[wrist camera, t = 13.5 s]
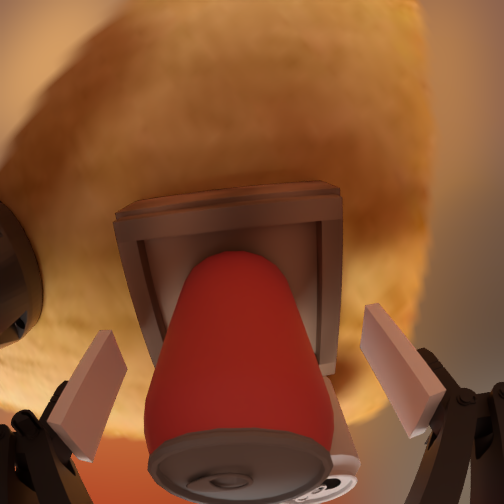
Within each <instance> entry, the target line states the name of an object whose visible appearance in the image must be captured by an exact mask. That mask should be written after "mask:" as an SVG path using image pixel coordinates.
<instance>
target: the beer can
mask: <svg viewBox="0 0 504 504" xmlns="http://www.w3.org/2000/svg"><path fill="white" fill-rule="evenodd" d="M333 433H334V412H333V408H332V404H331V400H330V396H329V393H328V390H327V387H326V385H325V382H324V379H323V376H322V373H321V371H320V368H319V365H318V362H317V360H316V357H315V354H314V351H313V349H312V346H311V343H310V340H309V338H308V335H307V332H306V329H305V327H304V324H303V321H302V319H301V316H300V313H299V311H298V308H297V305H296V303H295V300H294V297H293V295H292V292H291V289H290V287H289V284H288V281H287V279H286V277H285V276H284V275H283V274H282V272H281V271H280V270H279V268H278V267H277V266H276V265H275V264H273V263H272V262H270V261H269V260H267V259H266V258H264V257H263V256H260V255H257V254H253V253H249V252H246V251H225V252H222V253H219V254H216V255H213V256H210V257H207V258H206V259H205V260H203V261H202V262H201V263H199V264H198V265H197V266H195V267H194V268H193V269H192V271H191V272H190V274H189V275H188V277H187V278H186V280H185V281H184V284H183V287H182V290H181V292H180V295H179V298H178V301H177V304H176V307H175V310H174V313H173V315H172V318H171V321H170V324H169V327H168V330H167V333H166V336H165V339H164V342H163V346H162V349H161V352H160V355H159V358H158V361H157V364H156V368H155V371H154V374H153V377H152V381H151V384H150V387H149V391H148V394H147V397H146V402H145V411H144V434H145V439H146V443H147V447H148V451H149V454H150V456H149V461H148V472H149V473H150V475H151V476H152V478H153V479H154V481H155V482H156V483H157V484H158V485H159V486H161V487H162V488H164V489H165V490H166V491H168V492H169V493H171V494H173V495H176V496H178V497H180V498H182V499H185V500H187V501H191V502H194V503H199V504H280V503H283V502H287V501H290V500H293V499H296V498H299V497H301V496H303V495H305V494H307V493H309V492H311V491H313V490H314V489H316V488H317V487H318V486H319V485H320V484H322V483H323V482H324V481H325V480H326V479H327V478H328V476H329V474H330V472H331V470H332V468H333V466H334V465H333V462H332V459H331V455H330V450H331V445H332V439H333Z"/></svg>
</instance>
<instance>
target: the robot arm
mask: <svg viewBox="0 0 504 504" xmlns="http://www.w3.org/2000/svg"><path fill="white" fill-rule="evenodd" d="M41 308H42V284H41V278H40V273H39V269H38V265H37V261H36V258H35V255H34V252H33V250H32V247H31V245H30V243H29V240H28V238H27V236H26V234H25V232H24V230H23V229H22V227H21V225H20V224H19V222H18V220H17V219H16V218H15V216H14V215H13V214H12V212H11V211H10V210H9V209H8V208H7V207H6V206H5V205H4V204H3V203H2V202H0V349H1V348H4V347H6V346H8V345H11V344H13V343H15V342H17V341H19V340H20V339H22V338H23V337H24V336H25V335H26V334H27V333H28V332H29V331H30V330H31V329H32V327H33V326H34V325H35V324H36V322H37V321H38V319H39V316H40V313H41ZM360 348H361V350H362V352H363V354H364V355H365V357H366V359H367V361H368V362H369V364H370V366H371V368H372V370H373V371H374V373H375V375H376V377H377V379H378V380H379V382H380V384H381V386H382V388H383V390H384V391H385V393H386V395H387V397H388V399H389V401H390V403H391V405H392V406H393V408H394V410H395V412H396V414H397V416H398V418H399V420H400V422H401V423H402V425H403V427H404V429H405V431H406V433H407V435H408V437H409V439H410V438H412V437H415V436H417V435H420V434H422V433H424V432H425V431H426V429H427V427H428V425H430V427H431V429H432V432H431V434H430V436H429V437H428V439H427V441H426V442H425V444H427V446H426V450H425V453H424V455H423V458H422V461H421V464H420V467H419V470H418V472H417V475H416V477H415V480H414V482H413V485H412V487H411V490H410V492H409V494H408V497H407V499H406V501H405V503H404V504H458V502H459V499H460V496H461V492H462V489H463V486H464V482H465V478H466V474H467V470H468V466H469V461H470V459H471V493H470V504H504V382H499V383H497V384H496V385H494V387H493V389H492V391H491V392H487V393H481V394H476V393H475V392H473V391H472V390H470V389H467V388H460V387H459V385H458V384H457V383H456V382H455V380H454V379H453V378H452V377H451V375H450V374H449V373H448V371H447V370H446V369H445V368H443V365H442V364H441V363H440V362H439V361H438V359H437V358H436V357H435V355H434V354H433V353H432V352H430V351H429V350H427V349H425V348H421V349H418V350H416V349H415V348H414V346H413V345H412V344H411V343H410V341H409V340H408V339H407V338H406V336H405V335H404V334H403V333H402V331H401V330H400V329H399V328H398V326H397V325H396V324H395V323H394V321H393V320H392V319H391V318H390V316H389V315H388V314H387V313H386V312H385V310H384V309H383V308H382V307H381V306H380V304H379V303H376V304H370V305H365V312H364V321H363V329H362V337H361V344H360ZM126 372H127V367H126V364H125V362H124V360H123V357H122V355H121V353H120V350H119V348H118V345H117V343H116V340H115V337H114V335H113V332H112V330H100V331H99V332H98V334H97V335H96V337H95V338H94V340H93V342H92V343H91V345H90V346H89V348H88V350H87V351H86V353H85V354H84V356H83V358H82V359H81V361H80V363H79V364H78V366H77V368H76V369H75V371H74V373H73V374H72V376H71V378H70V380H69V381H64V382H63V383H62V384H60V385H59V386H58V387H57V389H56V391H55V392H54V394H53V395H54V396H52V398H51V399H50V402H49V403H48V405H47V407H46V408H45V410H44V412H43V414H42V416H41V417H40V419H39V420H38V419H37V418H36V416H35V415H34V414H33V412H31V411H30V410H21V411H19V412H17V413H16V414H15V415H14V416H13V418H12V420H11V425H12V427H13V428H14V429H15V430H16V432H12V431H11V430H10V429H9V427H8V426H6V425H5V424H0V504H93V502H92V500H91V498H90V496H89V494H88V492H87V490H86V488H85V486H84V484H83V482H82V480H81V478H80V476H79V473H78V471H77V469H76V466H75V464H74V462H73V461H72V459H71V458H70V457H71V454H72V453H73V454H74V455H75V456H76V457H77V458H78V459H79V460H83V461H87V462H92V463H93V460H94V457H95V454H96V451H97V448H98V445H99V442H100V439H101V437H102V434H103V431H104V428H105V425H106V423H107V420H108V417H109V415H110V412H111V409H112V407H113V404H114V402H115V399H116V396H117V394H118V391H119V389H120V386H121V384H122V381H123V379H124V376H125V374H126ZM15 466H16V471H15Z"/></svg>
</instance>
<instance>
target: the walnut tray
mask: <svg viewBox="0 0 504 504" xmlns="http://www.w3.org/2000/svg"><path fill="white" fill-rule="evenodd" d="M115 215H116V221H114V222H113V226H114V231H115V235H116V240H117V244H118V249H119V253H120V257H121V261H122V265H123V269H124V273H125V277H126V281H127V284H128V288H129V292H130V295H131V299H132V302H133V305H134V309H135V312H136V315H137V318H138V321H139V325H140V328H141V331H142V334H143V337H144V340H145V343H146V345H147V348H148V351H149V354H150V357H151V359H152V362H153V365H154V367H155V368H156V364H157V361H158V358H159V355H160V352H161V349H162V346H163V342H164V339H165V336H166V333H167V330H168V327H169V324H170V321H171V318H172V315H173V313H174V310H175V307H176V304H177V301H178V298H179V295H180V292H181V290H182V287H183V284H184V281H185V280H186V278H187V277H188V275H189V274H190V272H191V271H192V269H193V268H194V267H195V266H197V265H198V264H199V263H201V262H202V261H203V260H205V259H206V258H207V257H210V256H213V255H216V254H219V253H222V252H225V251H246V252H249V253H253V254H257V255H260V256H263V257H264V258H266V259H267V260H269V261H270V262H272V263H273V264H275V265H276V266H277V267H278V268H279V270H280V271H281V272H282V274H283V275H284V276H285V277H286V279H287V281H288V284H289V287H290V289H291V292H292V295H293V297H294V300H295V303H296V305H297V308H298V311H299V313H300V316H301V319H302V321H303V324H304V327H305V329H306V332H307V335H308V338H309V340H310V343H311V346H312V349H313V351H314V354H315V357H316V360H317V362H318V365H319V368H320V371H321V373H322V376H326V375H331V374H335V367H336V357H337V347H338V335H339V322H340V307H341V287H342V255H343V207H342V197H341V196H340V188H338V187H336V186H333V185H331V184H328V183H325V182H323V181H306V182H292V183H279V184H267V185H256V186H246V187H236V188H227V189H218V190H210V191H202V192H194V193H187V194H179V195H172V196H165V197H159V198H152V199H146V200H140V201H136V202H134V203H132V204H130V205H129V206H127V207H125V208H123V209H122V210H120V211H118V212H116V213H115Z"/></svg>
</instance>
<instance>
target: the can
mask: <svg viewBox="0 0 504 504" xmlns="http://www.w3.org/2000/svg"><path fill="white" fill-rule="evenodd" d="M323 379H324V382H325V385H326V387H327V390H328V393H329V396H330V400H331V404H332V408H333V412H334V433H333V439H332V445H331V450H330V455H331V459H332V462H333V465H334V466H333V468H332V470H331V472H330V474H329V476H328V478H327V479H326V480H325V481H324V482H323V483H322V484H320V485H319V486H318V487H317V488H316V489H314V490H313V491H311V492H309V493H307V494H305V495H303V496H301V497H299V498H296V499H293V500H290V501H287V502H283V503H280V504H319V503H322V502H326V501H329V500H332V499H335V498H337V497H339V496H341V495H343V494H345V493H347V492H348V491H350V490H351V489H352V488H353V487H354V486H355V485H356V483H357V478H356V476H355V474H356V473H357V471H358V469H359V467H360V465H361V464H360V460H359V457H358V454H357V452H356V449H355V446H354V443H353V440H352V437H351V435H350V432H349V429H348V426H347V424H346V421H345V418H344V415H343V413H342V410H341V407H340V405H339V402H338V399H337V397H336V394H335V391H334V389H333V386H332V383H331V381H330V379H329V378H328V377H327V376H323Z"/></svg>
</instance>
